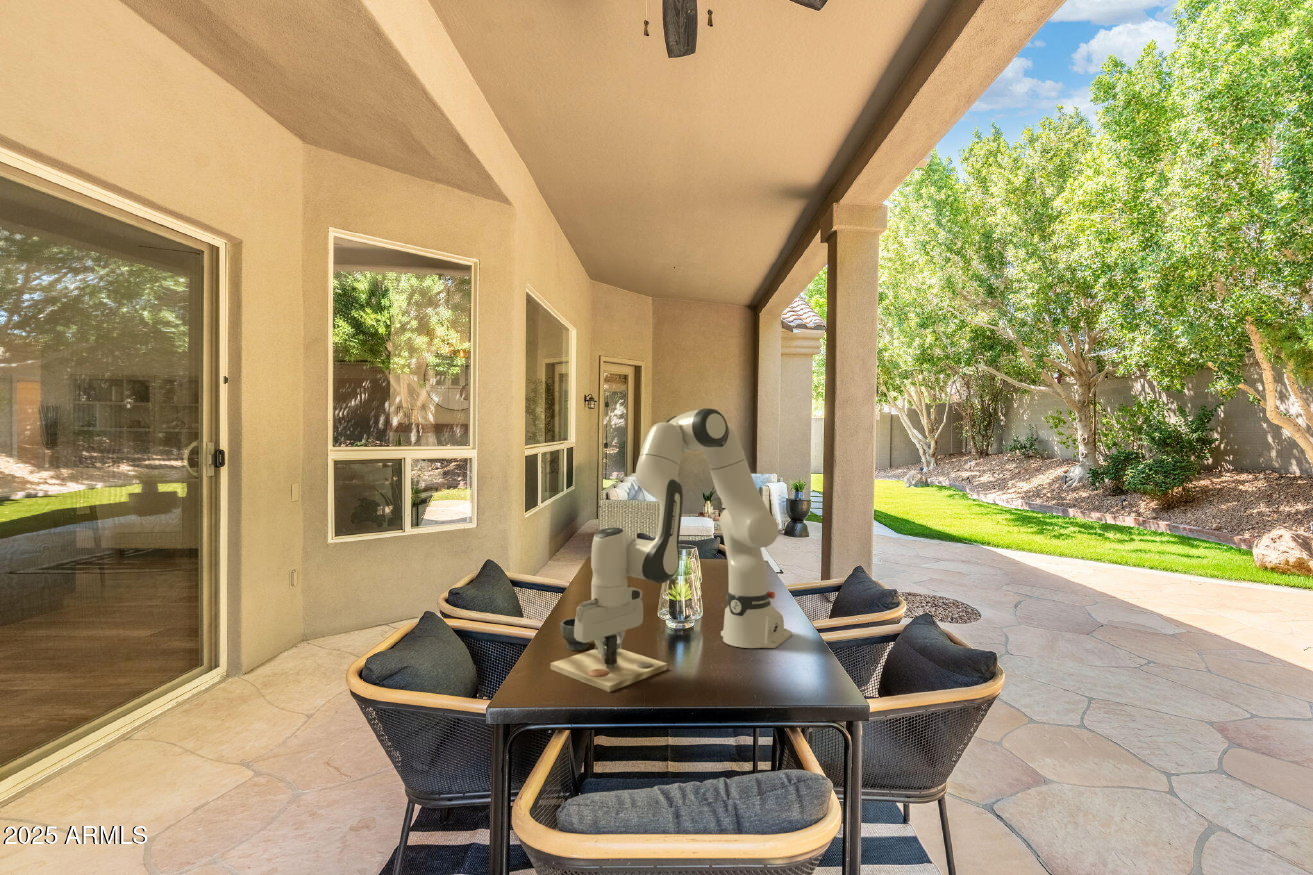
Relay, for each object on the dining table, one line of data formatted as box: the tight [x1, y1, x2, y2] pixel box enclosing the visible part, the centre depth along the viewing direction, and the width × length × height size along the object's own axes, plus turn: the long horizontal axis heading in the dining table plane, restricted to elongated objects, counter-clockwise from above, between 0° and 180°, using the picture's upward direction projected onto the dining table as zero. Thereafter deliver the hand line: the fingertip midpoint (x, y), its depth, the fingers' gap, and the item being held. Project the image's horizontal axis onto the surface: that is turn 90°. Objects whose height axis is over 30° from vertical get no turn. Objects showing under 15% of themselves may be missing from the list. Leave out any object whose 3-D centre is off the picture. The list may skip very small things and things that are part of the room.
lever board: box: [549, 648, 668, 693], centre depth 162 cm, size 20×22×2 cm
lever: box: [594, 634, 617, 669], centre depth 163 cm, size 4×20×8 cm, turn 12°
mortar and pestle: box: [559, 617, 590, 651], centre depth 179 cm, size 11×9×12 cm
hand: (609, 651), depth 155 cm, fingers open, 3 cm apart
